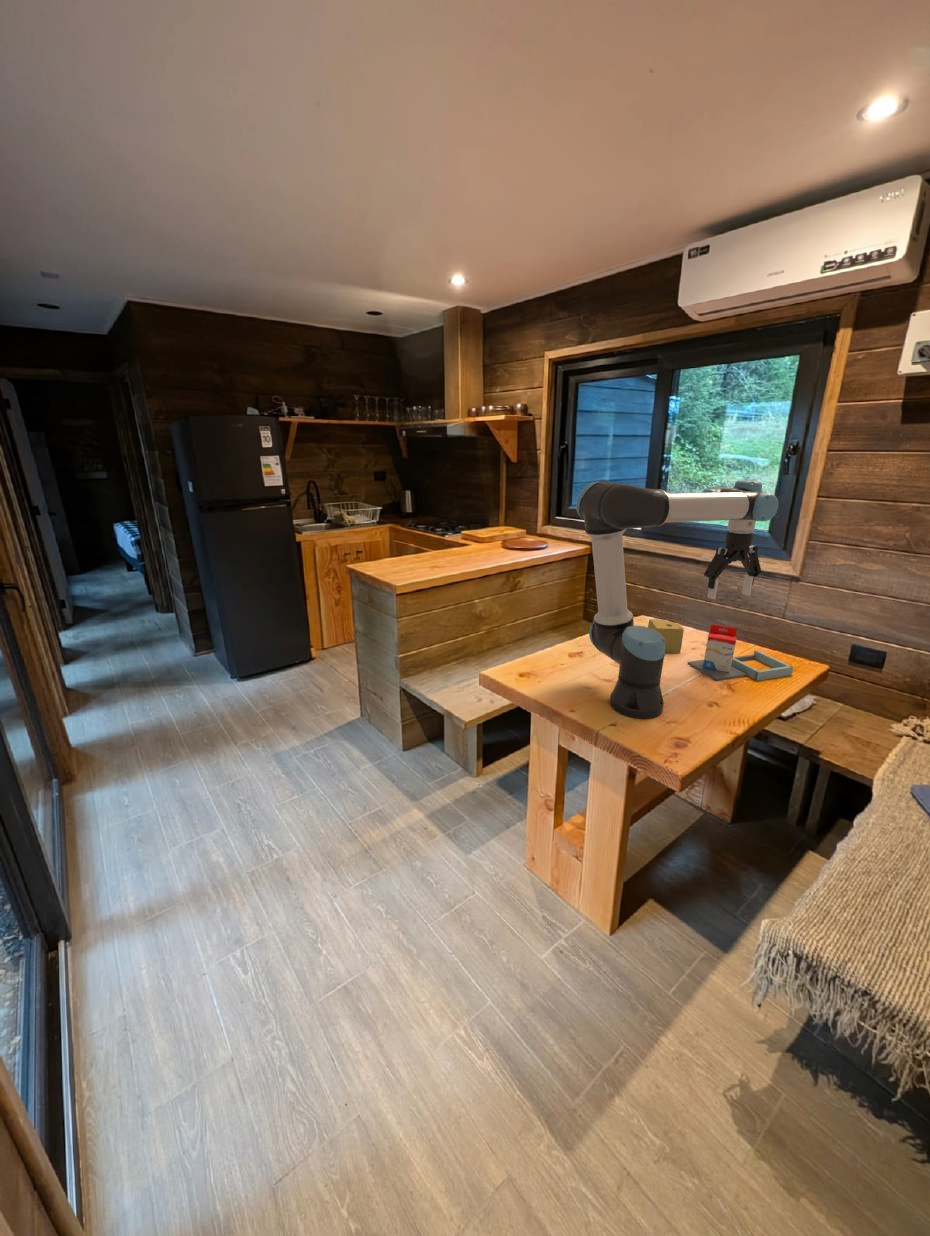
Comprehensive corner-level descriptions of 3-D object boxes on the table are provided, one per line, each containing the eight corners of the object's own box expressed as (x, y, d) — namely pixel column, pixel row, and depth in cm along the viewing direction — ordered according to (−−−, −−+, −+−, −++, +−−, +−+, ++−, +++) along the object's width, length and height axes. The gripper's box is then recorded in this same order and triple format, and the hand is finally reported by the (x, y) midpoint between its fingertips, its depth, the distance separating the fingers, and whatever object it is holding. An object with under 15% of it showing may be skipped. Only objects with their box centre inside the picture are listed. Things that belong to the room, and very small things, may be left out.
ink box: (702, 668, 172) (709, 628, 167) (703, 662, 176) (710, 623, 171) (730, 673, 168) (737, 632, 164) (730, 667, 173) (738, 627, 168)
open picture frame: (757, 680, 165) (758, 672, 164) (722, 662, 178) (724, 654, 177) (791, 675, 168) (793, 667, 167) (755, 657, 182) (757, 650, 181)
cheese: (673, 643, 196) (676, 619, 193) (681, 654, 186) (685, 628, 183) (645, 642, 197) (648, 618, 194) (652, 653, 187) (655, 628, 184)
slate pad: (716, 680, 165) (716, 678, 164) (687, 663, 177) (687, 661, 177) (746, 676, 168) (746, 674, 168) (715, 659, 181) (716, 657, 180)
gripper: (715, 535, 150) (704, 603, 157) (782, 531, 157) (768, 596, 164) (698, 531, 157) (688, 596, 164) (762, 527, 164) (750, 590, 171)
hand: (728, 596), depth 164 cm, fingers open, 13 cm apart
